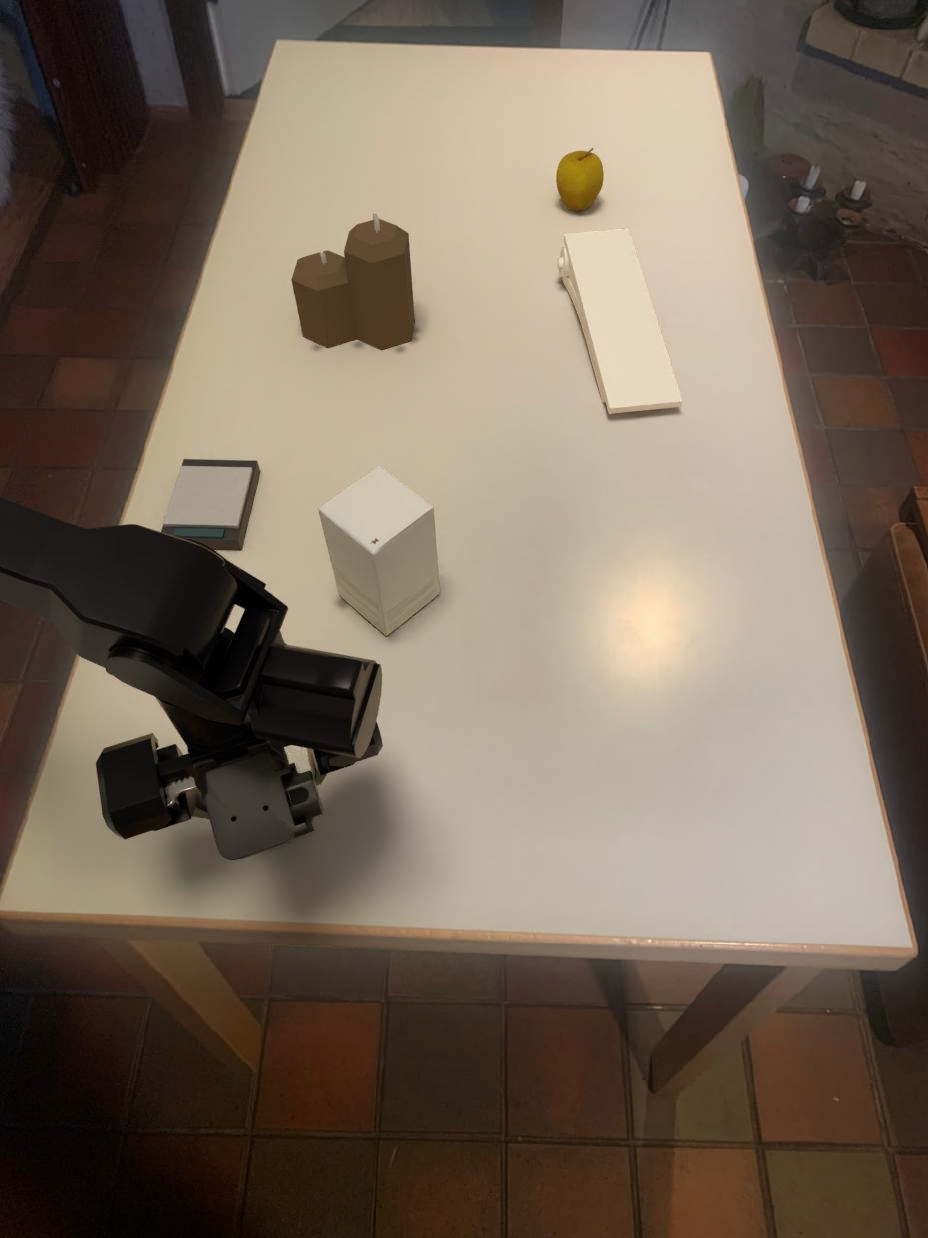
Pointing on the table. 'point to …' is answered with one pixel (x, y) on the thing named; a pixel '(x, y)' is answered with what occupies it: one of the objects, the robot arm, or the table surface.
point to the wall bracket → (618, 321)
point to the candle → (358, 289)
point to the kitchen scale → (212, 502)
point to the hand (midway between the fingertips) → (266, 796)
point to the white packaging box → (382, 548)
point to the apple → (579, 179)
